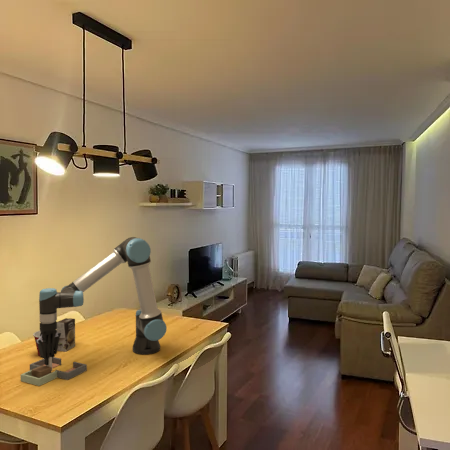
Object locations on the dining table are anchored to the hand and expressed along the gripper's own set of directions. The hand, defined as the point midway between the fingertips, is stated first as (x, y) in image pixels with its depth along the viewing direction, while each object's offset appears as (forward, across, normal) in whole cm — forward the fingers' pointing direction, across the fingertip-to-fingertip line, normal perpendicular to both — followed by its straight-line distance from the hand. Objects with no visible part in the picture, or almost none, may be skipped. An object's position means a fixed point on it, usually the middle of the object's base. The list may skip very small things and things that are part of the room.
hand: (48, 370), depth 188 cm
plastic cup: (+2, -18, -24) cm, 29 cm away
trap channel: (+2, -1, 0) cm, 2 cm away
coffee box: (+2, -30, -20) cm, 36 cm away
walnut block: (+2, +4, 0) cm, 4 cm away
